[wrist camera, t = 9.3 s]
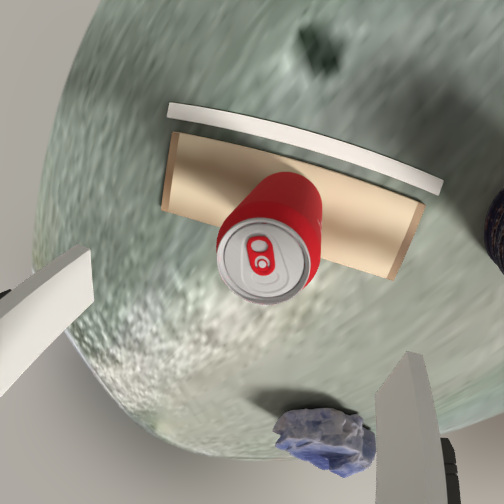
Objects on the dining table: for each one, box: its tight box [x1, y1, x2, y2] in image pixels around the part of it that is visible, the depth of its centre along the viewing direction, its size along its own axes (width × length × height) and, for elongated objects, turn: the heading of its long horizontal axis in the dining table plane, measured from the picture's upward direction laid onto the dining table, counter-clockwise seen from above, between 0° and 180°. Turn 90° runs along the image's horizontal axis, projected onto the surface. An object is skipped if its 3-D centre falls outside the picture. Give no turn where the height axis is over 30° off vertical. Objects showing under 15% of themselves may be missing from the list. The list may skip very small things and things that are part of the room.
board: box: [161, 131, 426, 281], centre depth 28 cm, size 8×24×1 cm, turn 77°
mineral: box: [273, 408, 376, 478], centre depth 36 cm, size 14×10×10 cm
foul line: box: [167, 102, 444, 196], centre depth 25 cm, size 2×26×1 cm, turn 77°
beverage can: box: [216, 172, 322, 305], centre depth 22 cm, size 6×6×12 cm
